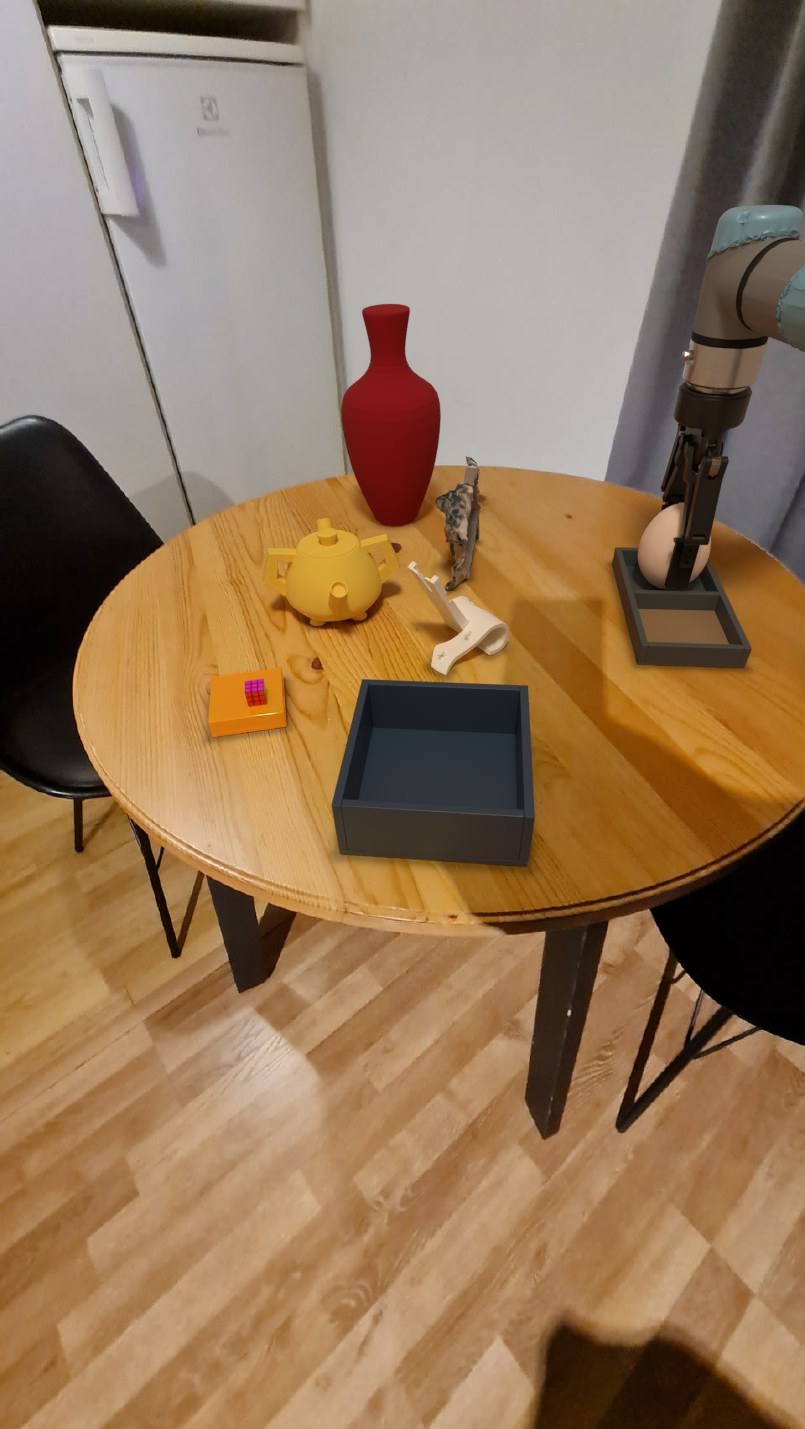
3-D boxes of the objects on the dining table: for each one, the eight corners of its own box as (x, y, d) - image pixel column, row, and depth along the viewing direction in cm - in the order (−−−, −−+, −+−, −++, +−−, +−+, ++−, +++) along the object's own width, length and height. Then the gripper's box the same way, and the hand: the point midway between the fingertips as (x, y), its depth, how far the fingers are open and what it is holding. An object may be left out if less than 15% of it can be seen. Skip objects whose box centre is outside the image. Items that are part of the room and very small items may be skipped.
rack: (699, 566, 93) (704, 548, 91) (744, 668, 76) (752, 648, 74) (611, 564, 94) (615, 547, 92) (636, 664, 77) (641, 645, 75)
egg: (687, 568, 92) (709, 489, 84) (707, 602, 85) (733, 520, 78) (624, 570, 92) (641, 491, 84) (639, 603, 86) (658, 522, 78)
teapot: (415, 640, 82) (413, 561, 75) (273, 660, 80) (255, 581, 73) (388, 563, 97) (384, 490, 89) (267, 579, 95) (252, 505, 87)
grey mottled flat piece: (452, 540, 102) (453, 455, 93) (479, 542, 101) (483, 456, 92) (435, 591, 91) (434, 500, 82) (466, 593, 90) (468, 502, 81)
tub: (522, 734, 69) (528, 685, 64) (527, 867, 57) (534, 817, 52) (367, 727, 71) (362, 678, 66) (339, 854, 59) (331, 805, 54)
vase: (376, 548, 101) (360, 326, 80) (336, 512, 110) (313, 306, 90) (457, 524, 106) (462, 309, 85) (412, 492, 115) (406, 292, 95)
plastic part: (508, 647, 81) (517, 563, 73) (443, 677, 77) (445, 591, 69) (469, 619, 85) (474, 537, 77) (407, 646, 81) (405, 563, 73)
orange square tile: (212, 737, 71) (203, 708, 68) (215, 691, 76) (207, 662, 74) (287, 727, 71) (280, 697, 68) (284, 681, 77) (278, 652, 74)
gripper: (663, 358, 80) (628, 530, 95) (703, 416, 64) (653, 611, 79) (727, 357, 79) (681, 530, 94) (784, 416, 63) (718, 613, 79)
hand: (668, 567), depth 87 cm, fingers closed on egg, 9 cm apart
